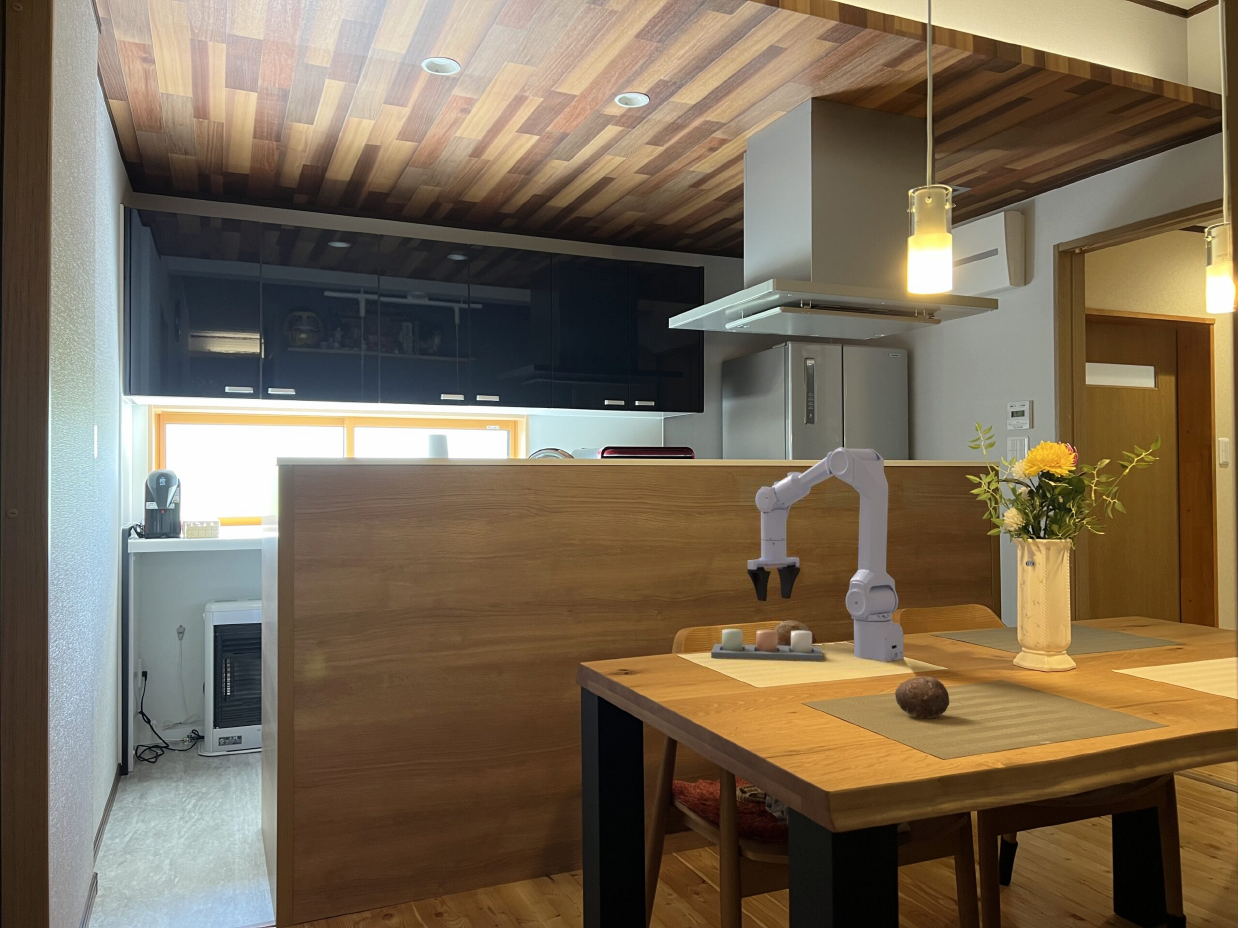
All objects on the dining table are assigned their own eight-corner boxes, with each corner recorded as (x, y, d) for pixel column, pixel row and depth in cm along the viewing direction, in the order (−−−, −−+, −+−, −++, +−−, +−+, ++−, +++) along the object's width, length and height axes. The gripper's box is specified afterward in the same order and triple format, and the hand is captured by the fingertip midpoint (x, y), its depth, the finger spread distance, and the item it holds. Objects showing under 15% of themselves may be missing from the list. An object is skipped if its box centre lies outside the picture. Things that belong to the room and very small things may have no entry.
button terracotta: (777, 653, 194) (777, 629, 194) (777, 656, 190) (776, 633, 190) (756, 652, 195) (756, 629, 195) (756, 656, 191) (756, 632, 191)
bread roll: (768, 661, 212) (755, 630, 211) (802, 639, 216) (789, 608, 215) (794, 669, 203) (781, 637, 202) (829, 645, 207) (816, 613, 206)
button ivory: (811, 654, 193) (811, 630, 193) (812, 657, 189) (812, 633, 189) (790, 653, 194) (790, 630, 194) (791, 657, 190) (791, 633, 190)
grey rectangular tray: (820, 658, 195) (820, 646, 196) (822, 667, 186) (822, 655, 186) (714, 655, 199) (714, 643, 199) (711, 664, 189) (711, 652, 189)
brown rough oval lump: (910, 684, 155) (914, 658, 151) (955, 710, 150) (960, 683, 146) (884, 714, 150) (888, 688, 147) (929, 741, 145) (934, 714, 142)
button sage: (743, 652, 195) (742, 629, 195) (742, 655, 191) (742, 632, 191) (722, 651, 196) (722, 628, 196) (721, 655, 192) (721, 631, 192)
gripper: (783, 537, 222) (784, 595, 221) (738, 540, 213) (738, 599, 213) (805, 539, 216) (806, 598, 216) (760, 541, 208) (760, 603, 207)
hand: (774, 599), depth 214 cm, fingers open, 7 cm apart
